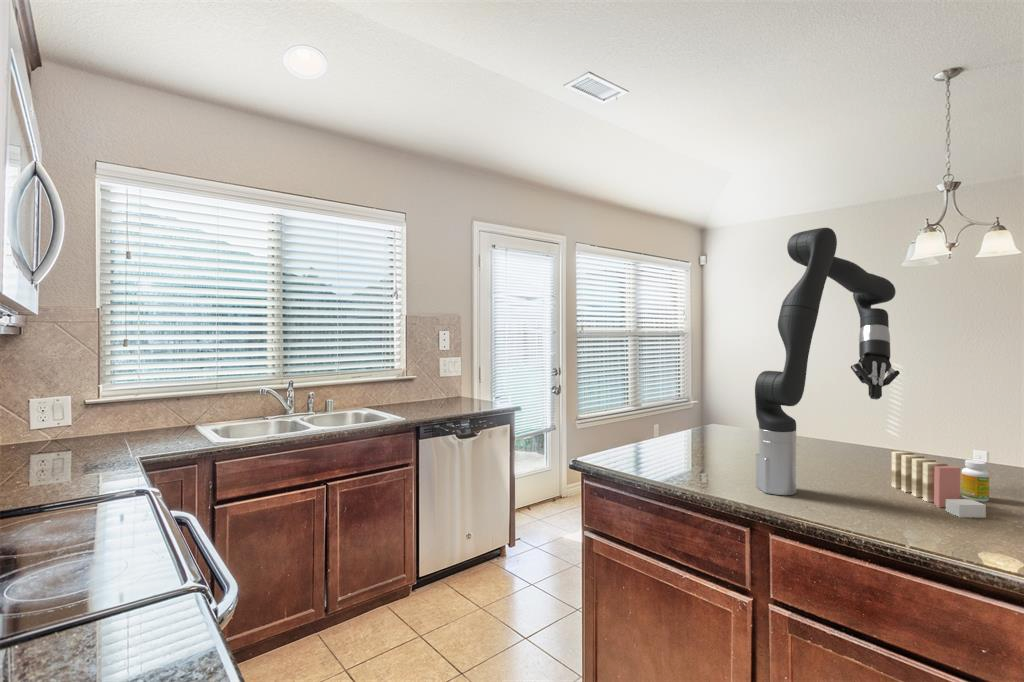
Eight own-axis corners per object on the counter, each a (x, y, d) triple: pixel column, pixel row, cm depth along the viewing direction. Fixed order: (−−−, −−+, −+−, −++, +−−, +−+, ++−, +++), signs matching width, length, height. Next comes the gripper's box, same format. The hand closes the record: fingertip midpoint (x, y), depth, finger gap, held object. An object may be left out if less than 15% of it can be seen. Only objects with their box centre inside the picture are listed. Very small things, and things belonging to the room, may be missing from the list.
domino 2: (905, 492, 137) (905, 456, 137) (901, 490, 139) (901, 454, 138) (924, 492, 137) (924, 456, 137) (919, 491, 138) (920, 454, 138)
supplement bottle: (979, 502, 129) (979, 465, 129) (955, 496, 134) (956, 460, 134) (994, 500, 130) (994, 463, 130) (970, 494, 135) (970, 458, 135)
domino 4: (927, 502, 130) (927, 463, 129) (922, 500, 131) (922, 462, 131) (947, 502, 129) (947, 463, 129) (942, 500, 131) (942, 462, 131)
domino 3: (916, 497, 133) (916, 460, 133) (911, 495, 135) (911, 458, 135) (935, 497, 133) (935, 460, 133) (930, 495, 135) (931, 458, 134)
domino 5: (939, 507, 126) (939, 467, 125) (934, 505, 127) (934, 466, 127) (959, 507, 125) (960, 468, 125) (954, 505, 127) (955, 466, 127)
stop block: (959, 517, 119) (959, 504, 119) (945, 511, 123) (945, 499, 123) (985, 517, 119) (985, 505, 119) (971, 511, 123) (971, 499, 123)
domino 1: (895, 488, 141) (895, 452, 141) (891, 486, 142) (891, 451, 142) (913, 488, 141) (914, 452, 140) (909, 486, 142) (909, 451, 142)
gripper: (859, 334, 148) (859, 391, 143) (906, 342, 146) (908, 400, 141) (844, 342, 155) (843, 397, 150) (889, 350, 154) (890, 405, 148)
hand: (875, 398), depth 145 cm, fingers closed
